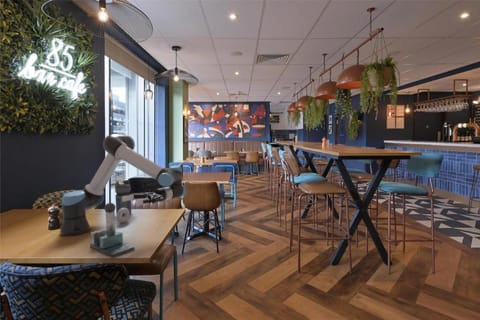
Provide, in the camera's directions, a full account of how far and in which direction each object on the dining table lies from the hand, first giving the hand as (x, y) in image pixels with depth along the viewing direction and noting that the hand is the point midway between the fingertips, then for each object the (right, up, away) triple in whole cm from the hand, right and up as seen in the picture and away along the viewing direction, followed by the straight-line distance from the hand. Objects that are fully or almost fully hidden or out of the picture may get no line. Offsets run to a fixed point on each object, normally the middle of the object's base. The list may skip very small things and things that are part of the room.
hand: (129, 200), depth 140 cm
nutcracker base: (-6, -23, -6) cm, 24 cm away
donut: (-18, -20, +35) cm, 44 cm away
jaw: (-6, -21, -6) cm, 23 cm away
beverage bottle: (-26, -18, +56) cm, 65 cm away
